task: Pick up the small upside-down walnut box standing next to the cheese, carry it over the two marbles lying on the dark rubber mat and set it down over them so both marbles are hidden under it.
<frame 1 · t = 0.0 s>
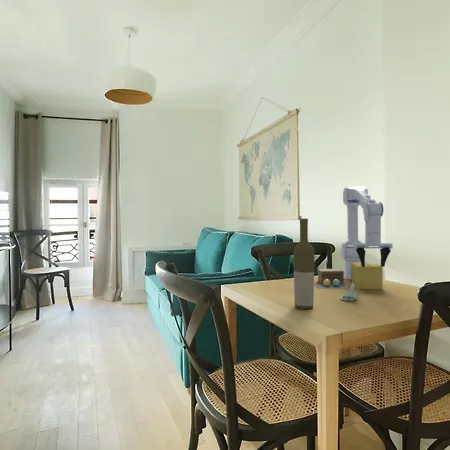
hand: (372, 266, 139), 10 cm above the table, tool pointing down, fingers open, 7 cm apart
marble teal: (336, 286, 148), resting on mat
bottle: (304, 308, 117), on the table
walnut cover: (330, 283, 157), on the table
cheese: (366, 288, 147), on the table
marble amber: (326, 286, 148), resting on mat
mat: (331, 287, 148), on the table
pacifier: (348, 300, 128), on the table
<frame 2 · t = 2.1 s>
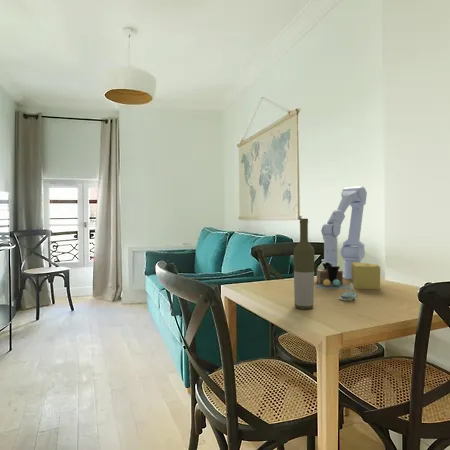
hand: (330, 280, 157), 1 cm above the table, tool pointing down, fingers closed on walnut cover, 6 cm apart
walnut cover: (329, 283, 157), on the table, touching gripper
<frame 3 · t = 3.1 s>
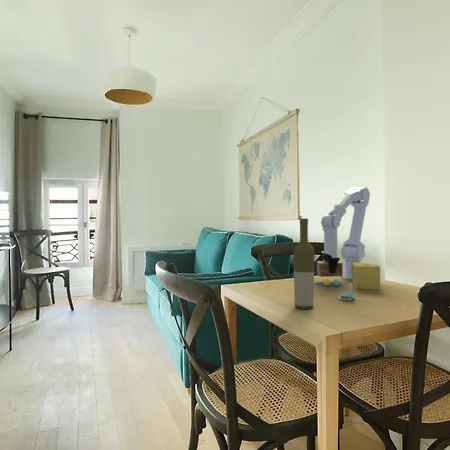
hand: (330, 271, 157), 5 cm above the table, tool pointing down, fingers closed on walnut cover, 6 cm apart
walnut cover: (329, 275, 157), point 4 cm above the table, touching gripper
everything else where it was.
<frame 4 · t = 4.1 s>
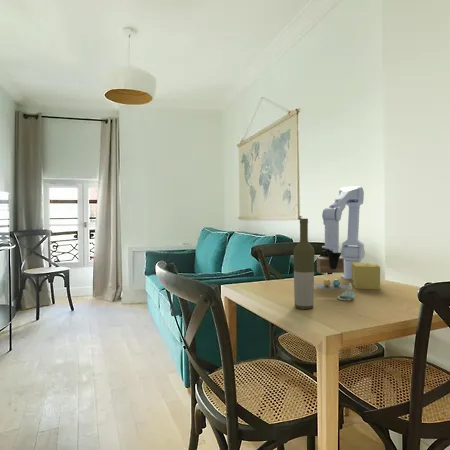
hand: (331, 267, 148), 8 cm above the table, tool pointing down, fingers closed on walnut cover, 6 cm apart
walnut cover: (330, 271, 148), point 7 cm above the table, touching gripper
everything else where it was.
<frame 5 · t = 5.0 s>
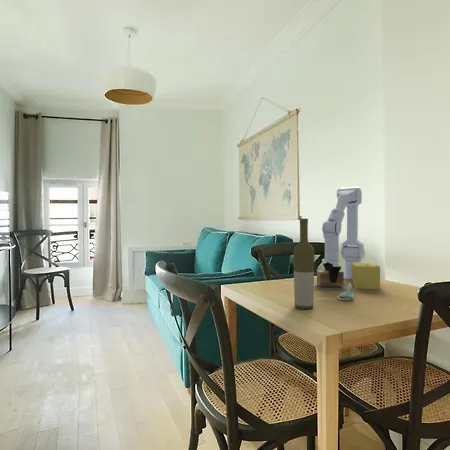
hand: (331, 281, 148), 3 cm above the table, tool pointing down, fingers closed on walnut cover, 6 cm apart
walnut cover: (330, 284, 148), point 1 cm above the table, touching gripper
when the fingers open (2 cm above the table, at t = 5.7 s): walnut cover stays where it is, resting on mat.
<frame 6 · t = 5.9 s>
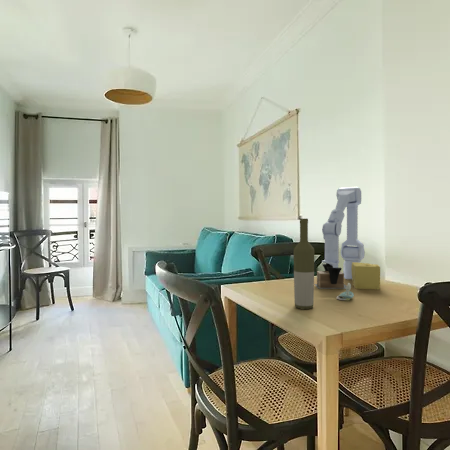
hand: (331, 282, 148), 2 cm above the table, tool pointing down, fingers open, 7 cm apart
walnut cover: (330, 286, 148), resting on mat
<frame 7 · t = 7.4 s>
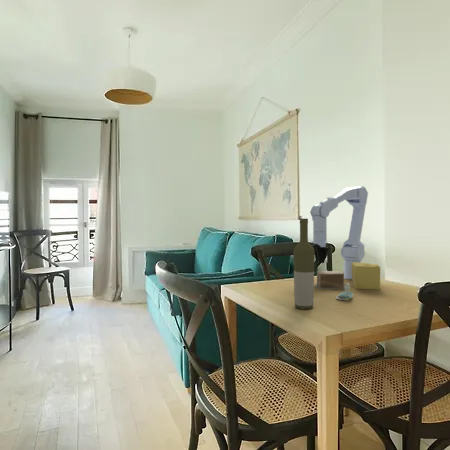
hand: (319, 261, 156), 10 cm above the table, tool pointing down, fingers open, 7 cm apart
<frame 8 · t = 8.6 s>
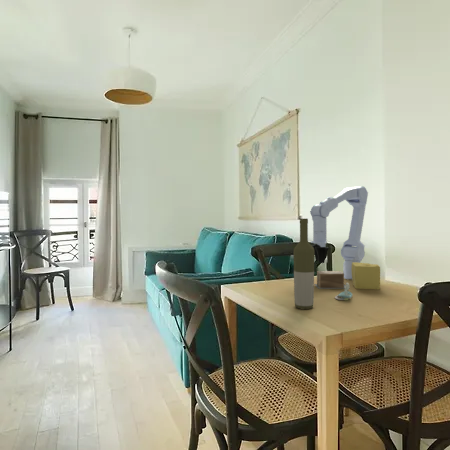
hand: (319, 261, 156), 10 cm above the table, tool pointing down, fingers open, 7 cm apart
at the end: walnut cover 0.6 cm from the target spot, resting on mat; walnut cover tilted 0°; marble teal moved 0.0 cm from its start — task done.
